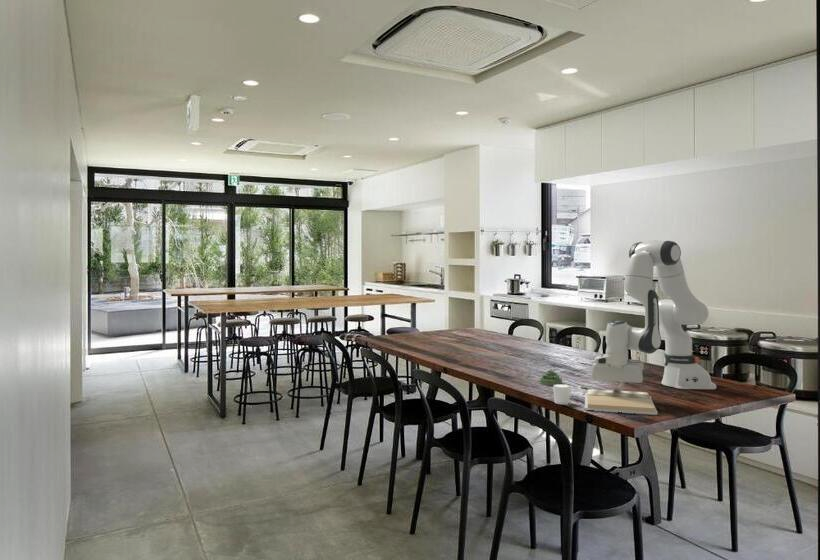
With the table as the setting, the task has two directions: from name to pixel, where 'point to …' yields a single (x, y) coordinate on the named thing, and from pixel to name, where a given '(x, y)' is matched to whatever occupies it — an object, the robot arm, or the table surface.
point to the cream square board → (620, 404)
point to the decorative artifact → (550, 379)
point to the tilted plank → (618, 393)
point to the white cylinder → (561, 393)
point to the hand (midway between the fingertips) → (616, 392)
